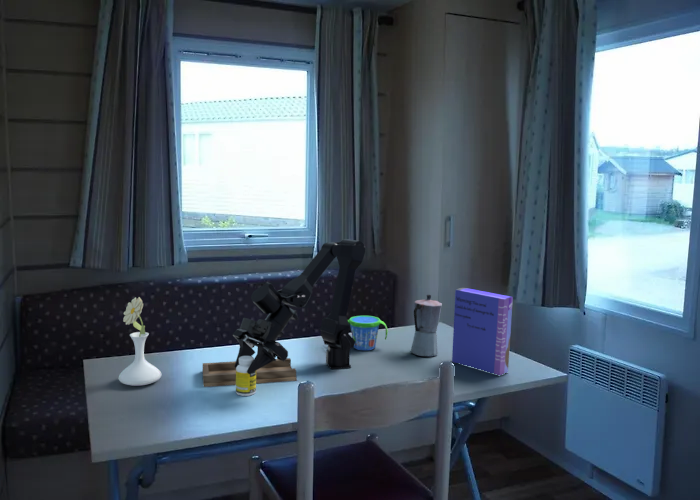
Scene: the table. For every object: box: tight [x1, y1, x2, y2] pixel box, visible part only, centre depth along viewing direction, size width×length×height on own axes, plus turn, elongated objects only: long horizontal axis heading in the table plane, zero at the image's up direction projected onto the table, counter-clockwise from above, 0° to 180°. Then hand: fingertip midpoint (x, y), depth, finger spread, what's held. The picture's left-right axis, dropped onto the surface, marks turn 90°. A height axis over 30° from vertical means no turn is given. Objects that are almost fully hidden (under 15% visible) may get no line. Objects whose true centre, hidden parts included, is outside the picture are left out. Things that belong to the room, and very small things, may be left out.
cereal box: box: [451, 287, 514, 376], centre depth 187 cm, size 17×5×24 cm, turn 45°
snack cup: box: [347, 315, 389, 351], centre depth 205 cm, size 16×10×10 cm
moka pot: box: [410, 294, 443, 357], centre depth 199 cm, size 10×15×20 cm, turn 148°
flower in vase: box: [118, 296, 162, 387], centre depth 166 cm, size 13×11×25 cm
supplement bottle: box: [235, 355, 257, 397], centre depth 162 cm, size 5×5×10 cm
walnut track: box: [202, 357, 298, 388], centre depth 175 cm, size 26×13×3 cm, turn 105°
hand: (241, 370), depth 161 cm, fingers closed on supplement bottle, 5 cm apart
